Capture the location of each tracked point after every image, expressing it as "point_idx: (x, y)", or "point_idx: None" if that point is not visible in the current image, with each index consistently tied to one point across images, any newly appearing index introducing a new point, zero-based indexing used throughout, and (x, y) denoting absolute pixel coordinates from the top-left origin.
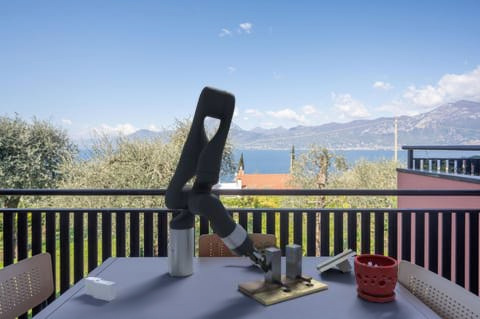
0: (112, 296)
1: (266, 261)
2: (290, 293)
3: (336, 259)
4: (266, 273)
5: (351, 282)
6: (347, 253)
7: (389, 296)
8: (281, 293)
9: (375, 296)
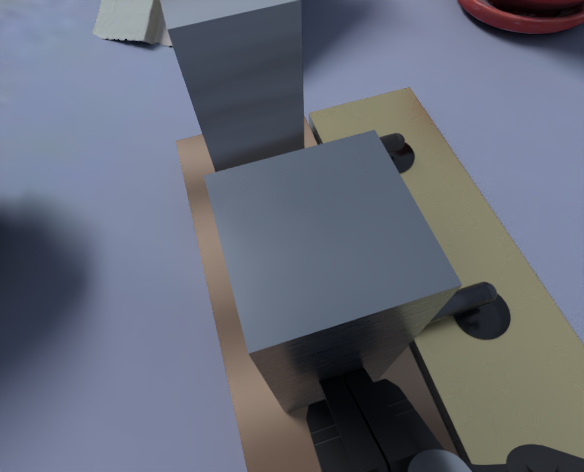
0: None
1: (564, 456)
2: (527, 305)
3: None
4: (311, 395)
5: (351, 6)
6: None
7: None
8: (528, 366)
9: None
